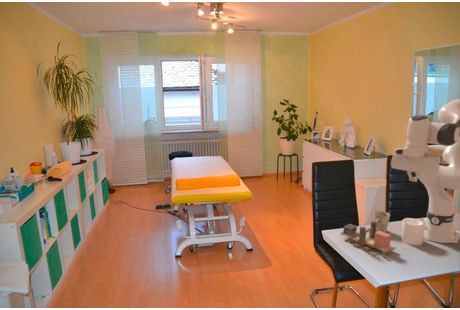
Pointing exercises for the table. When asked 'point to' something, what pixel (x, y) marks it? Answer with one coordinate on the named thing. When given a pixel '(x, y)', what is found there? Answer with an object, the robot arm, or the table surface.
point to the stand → (361, 242)
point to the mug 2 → (414, 231)
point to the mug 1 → (381, 220)
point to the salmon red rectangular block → (382, 239)
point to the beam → (351, 233)
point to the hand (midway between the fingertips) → (413, 181)
